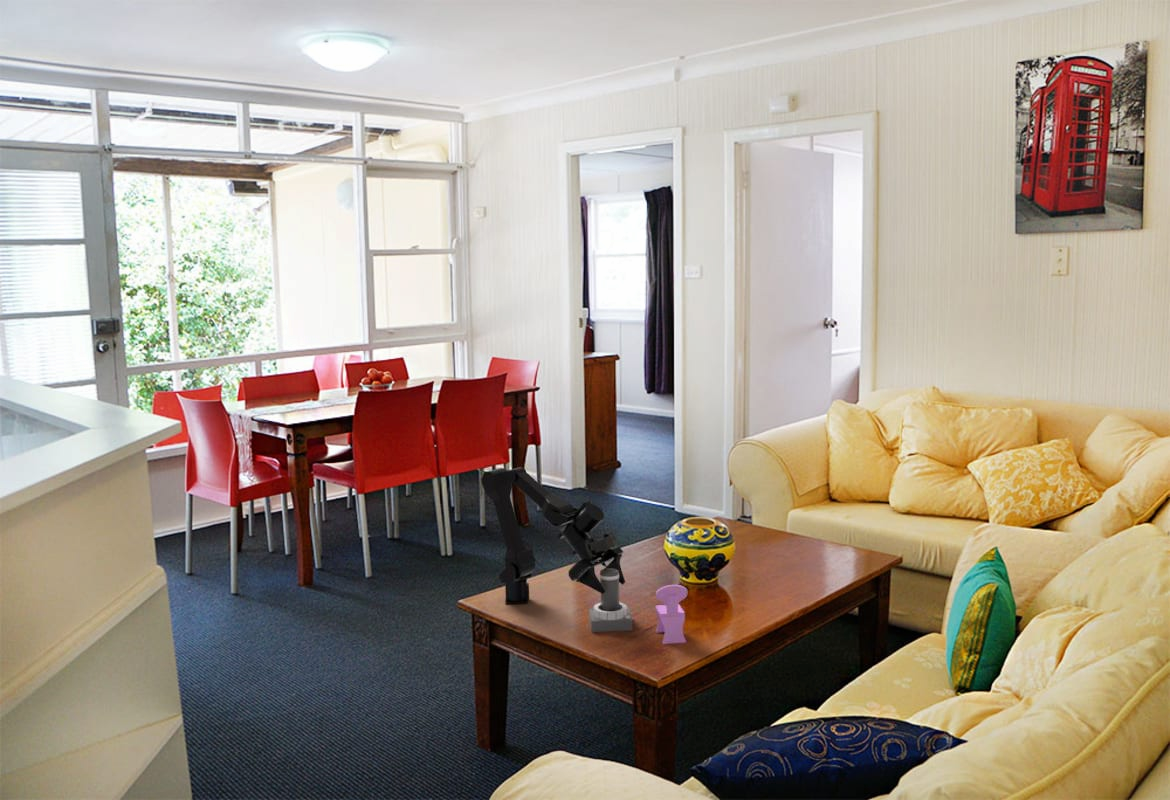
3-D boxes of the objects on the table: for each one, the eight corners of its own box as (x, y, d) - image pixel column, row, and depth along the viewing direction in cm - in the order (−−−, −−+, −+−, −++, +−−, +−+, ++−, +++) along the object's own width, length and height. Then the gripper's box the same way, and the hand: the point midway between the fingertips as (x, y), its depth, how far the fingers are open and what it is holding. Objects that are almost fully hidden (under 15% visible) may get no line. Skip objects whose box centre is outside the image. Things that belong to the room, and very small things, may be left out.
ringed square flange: (591, 632, 254) (591, 614, 253) (589, 619, 263) (589, 601, 263) (632, 630, 254) (632, 612, 254) (629, 617, 264) (628, 600, 263)
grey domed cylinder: (597, 615, 258) (596, 572, 256) (607, 609, 262) (606, 567, 260) (613, 618, 255) (612, 575, 253) (623, 612, 259) (622, 570, 258)
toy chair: (682, 629, 254) (681, 575, 252) (690, 642, 246) (689, 586, 244) (651, 631, 253) (651, 577, 251) (658, 644, 245) (658, 588, 243)
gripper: (576, 532, 250) (610, 581, 245) (617, 517, 265) (650, 562, 260) (553, 556, 256) (587, 604, 251) (594, 540, 271) (627, 585, 266)
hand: (614, 588), depth 257 cm, fingers open, 9 cm apart
